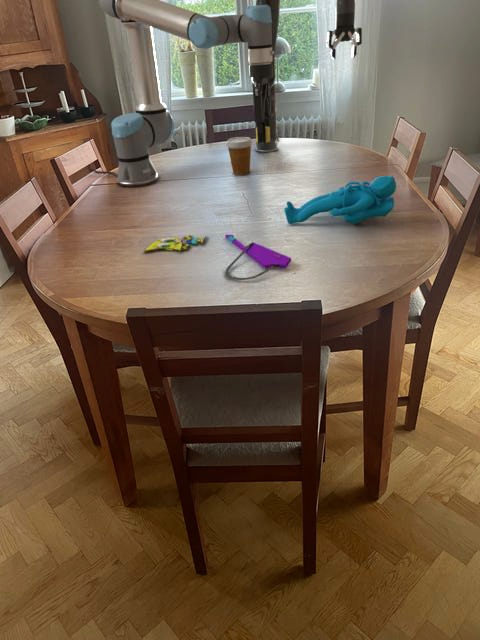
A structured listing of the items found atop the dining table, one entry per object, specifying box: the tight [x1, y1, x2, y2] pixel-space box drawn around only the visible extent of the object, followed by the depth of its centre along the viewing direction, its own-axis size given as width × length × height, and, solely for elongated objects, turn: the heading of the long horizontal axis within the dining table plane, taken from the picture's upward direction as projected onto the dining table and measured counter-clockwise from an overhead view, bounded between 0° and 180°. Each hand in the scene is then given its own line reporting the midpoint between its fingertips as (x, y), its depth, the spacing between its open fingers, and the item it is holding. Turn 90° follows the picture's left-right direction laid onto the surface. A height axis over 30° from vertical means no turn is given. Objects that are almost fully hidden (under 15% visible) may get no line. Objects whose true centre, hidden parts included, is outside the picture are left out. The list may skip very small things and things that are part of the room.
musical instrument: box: [224, 234, 292, 281], centre depth 118 cm, size 24×2×20 cm
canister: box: [255, 126, 270, 143], centre depth 163 cm, size 5×5×4 cm
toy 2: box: [283, 175, 397, 225], centre depth 132 cm, size 17×11×30 cm
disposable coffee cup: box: [226, 136, 253, 176], centre depth 180 cm, size 10×10×12 cm
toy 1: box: [144, 234, 207, 254], centre depth 130 cm, size 10×1×15 cm
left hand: (264, 140), depth 164 cm, fingers closed on canister, 5 cm apart
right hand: (343, 58), depth 199 cm, fingers open, 8 cm apart
